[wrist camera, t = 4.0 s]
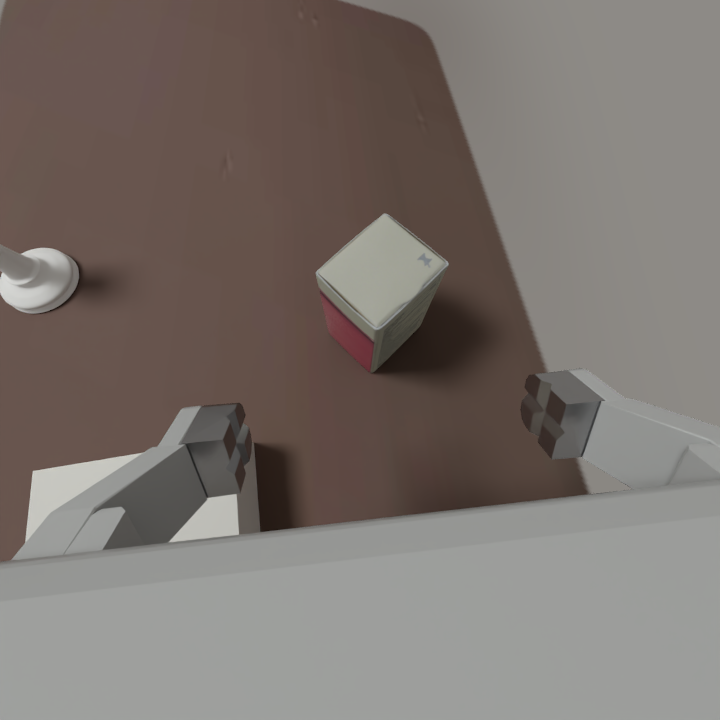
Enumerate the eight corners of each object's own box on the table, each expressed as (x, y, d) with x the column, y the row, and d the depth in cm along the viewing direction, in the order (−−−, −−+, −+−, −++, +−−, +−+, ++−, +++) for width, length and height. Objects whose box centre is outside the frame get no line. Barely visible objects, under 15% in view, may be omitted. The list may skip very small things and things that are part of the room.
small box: (377, 286, 25) (386, 207, 17) (422, 326, 24) (452, 261, 16) (326, 333, 24) (311, 270, 16) (371, 376, 23) (378, 331, 15)
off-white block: (269, 628, 19) (246, 670, 15) (80, 665, 18) (6, 719, 14) (255, 442, 22) (233, 438, 18) (91, 470, 21) (32, 471, 17)
